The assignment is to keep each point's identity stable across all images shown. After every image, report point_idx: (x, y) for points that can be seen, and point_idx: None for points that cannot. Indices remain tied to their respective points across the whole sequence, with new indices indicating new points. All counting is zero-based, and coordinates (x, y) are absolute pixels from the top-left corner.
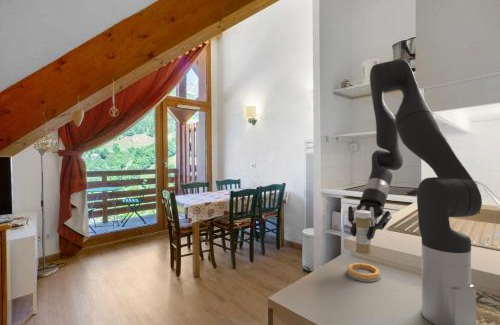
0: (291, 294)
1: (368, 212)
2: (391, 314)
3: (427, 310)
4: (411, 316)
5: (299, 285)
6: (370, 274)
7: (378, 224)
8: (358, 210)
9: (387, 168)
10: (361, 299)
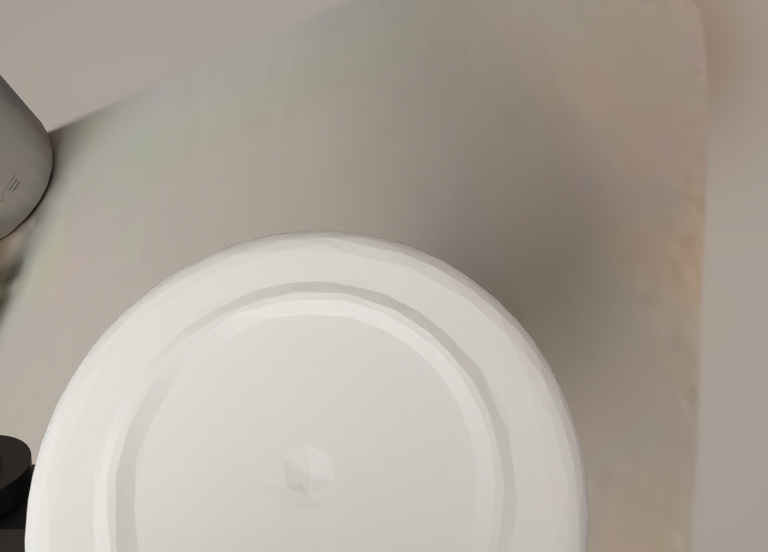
0: (660, 54)
1: (98, 357)
2: (191, 108)
3: (16, 95)
4: (106, 132)
5: (680, 149)
6: None
7: (3, 457)
8: (489, 527)
9: None
10: (333, 167)
